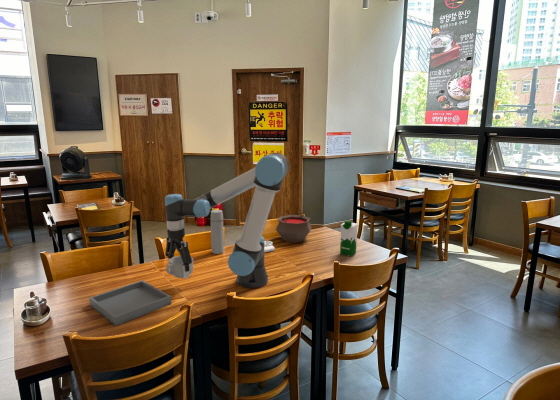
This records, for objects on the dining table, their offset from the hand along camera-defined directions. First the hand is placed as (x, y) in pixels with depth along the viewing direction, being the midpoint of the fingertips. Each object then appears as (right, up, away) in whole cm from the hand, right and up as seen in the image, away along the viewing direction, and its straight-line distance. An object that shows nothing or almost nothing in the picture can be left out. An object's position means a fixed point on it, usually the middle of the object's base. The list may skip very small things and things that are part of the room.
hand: (179, 274), depth 174 cm
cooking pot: (+56, +8, +73) cm, 92 cm away
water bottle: (+10, +3, +49) cm, 50 cm away
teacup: (0, -1, 0) cm, 1 cm away
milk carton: (+87, +3, +47) cm, 98 cm away
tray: (-17, -10, -14) cm, 24 cm away
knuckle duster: (+35, +4, +54) cm, 64 cm away
